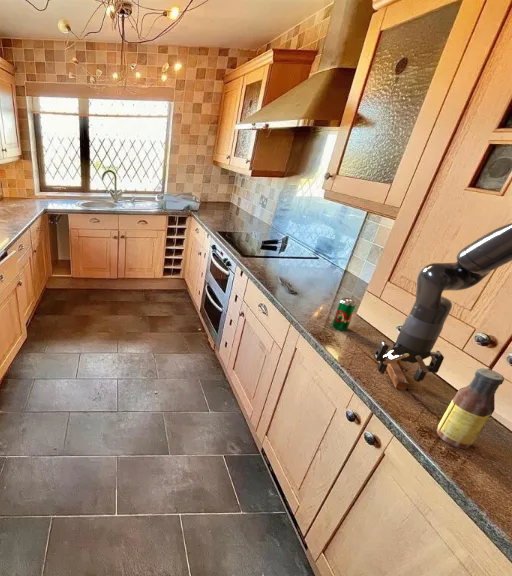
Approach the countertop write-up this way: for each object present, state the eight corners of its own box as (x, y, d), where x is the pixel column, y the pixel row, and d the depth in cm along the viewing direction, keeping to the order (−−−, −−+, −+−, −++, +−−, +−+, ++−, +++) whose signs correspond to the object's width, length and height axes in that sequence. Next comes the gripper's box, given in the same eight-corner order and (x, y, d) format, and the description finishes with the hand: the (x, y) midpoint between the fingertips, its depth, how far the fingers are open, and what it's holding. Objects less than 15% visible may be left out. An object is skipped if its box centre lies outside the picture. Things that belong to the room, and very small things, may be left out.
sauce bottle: (476, 453, 71) (524, 389, 62) (442, 445, 73) (484, 382, 64) (459, 430, 77) (501, 368, 68) (428, 423, 78) (465, 362, 70)
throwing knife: (288, 293, 143) (288, 292, 143) (273, 275, 161) (273, 274, 161) (297, 293, 143) (298, 292, 143) (281, 276, 161) (282, 275, 161)
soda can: (342, 324, 120) (352, 297, 114) (350, 331, 115) (360, 303, 110) (329, 323, 120) (338, 296, 115) (335, 331, 116) (345, 303, 110)
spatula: (411, 391, 88) (414, 385, 87) (389, 386, 90) (392, 380, 89) (393, 358, 101) (396, 352, 100) (375, 354, 103) (377, 348, 102)
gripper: (392, 332, 84) (372, 377, 91) (460, 344, 79) (434, 391, 86) (384, 319, 90) (366, 362, 97) (447, 329, 85) (423, 374, 92)
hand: (398, 376), depth 92 cm, fingers open, 8 cm apart
